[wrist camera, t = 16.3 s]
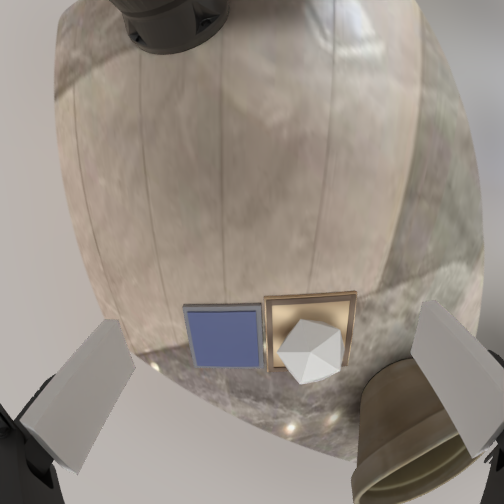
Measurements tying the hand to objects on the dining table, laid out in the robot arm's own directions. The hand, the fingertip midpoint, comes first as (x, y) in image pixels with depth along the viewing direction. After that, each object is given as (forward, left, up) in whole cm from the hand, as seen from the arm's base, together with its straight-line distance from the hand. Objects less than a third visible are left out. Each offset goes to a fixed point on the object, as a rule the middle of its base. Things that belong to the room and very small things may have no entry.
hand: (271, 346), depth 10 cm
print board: (+16, +6, -25) cm, 30 cm away
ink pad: (+16, -7, -25) cm, 30 cm away
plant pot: (+31, +23, -25) cm, 46 cm away
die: (+15, +5, -25) cm, 30 cm away
